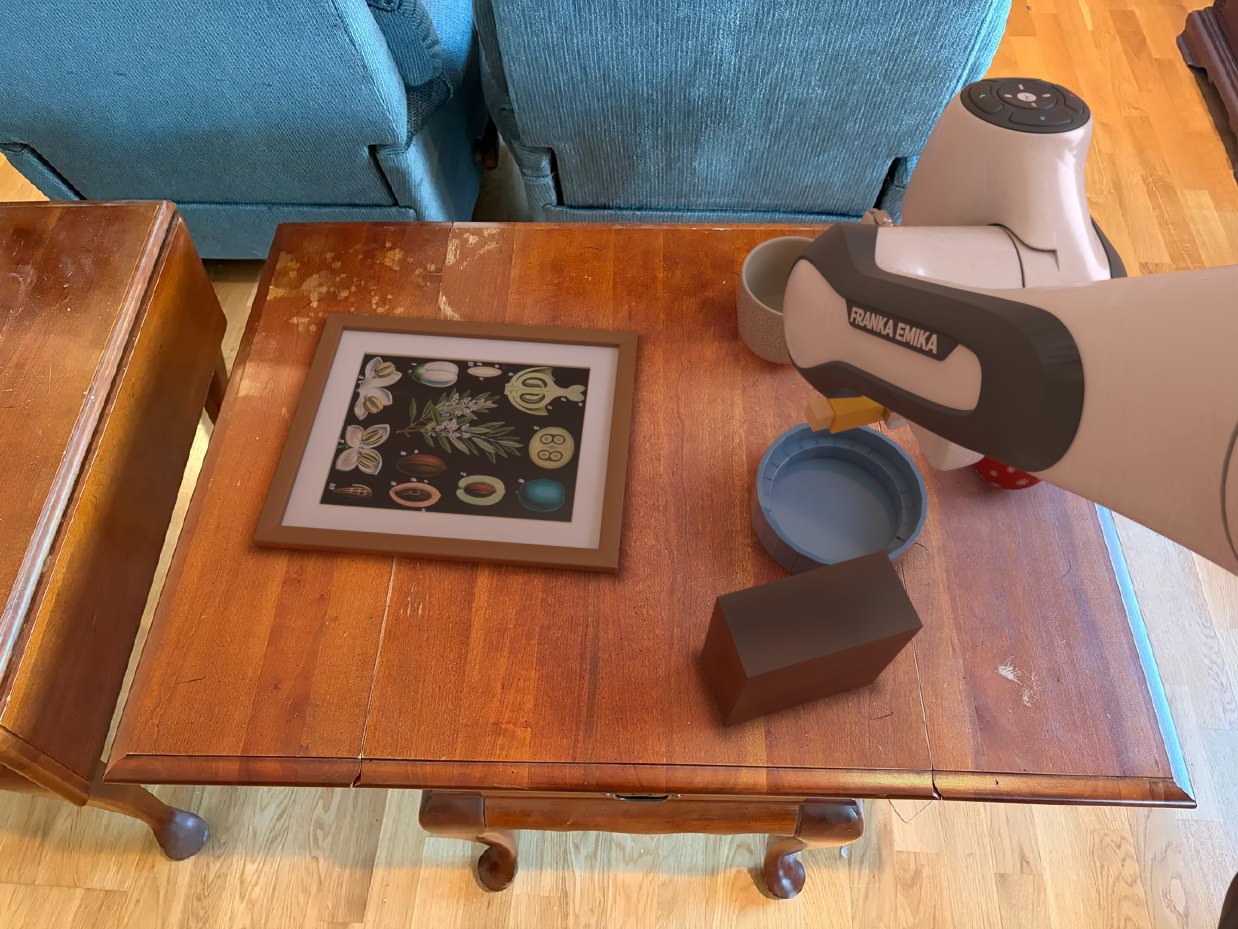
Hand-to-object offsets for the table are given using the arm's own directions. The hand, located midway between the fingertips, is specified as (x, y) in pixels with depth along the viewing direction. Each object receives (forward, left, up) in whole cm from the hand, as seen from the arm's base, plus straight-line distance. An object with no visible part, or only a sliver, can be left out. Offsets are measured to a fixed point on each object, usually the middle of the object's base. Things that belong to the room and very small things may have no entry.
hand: (882, 402), depth 72 cm
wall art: (+21, +36, -21) cm, 47 cm away
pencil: (0, 0, -1) cm, 1 cm away
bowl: (0, 0, -21) cm, 21 cm away
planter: (+24, -4, -21) cm, 32 cm away
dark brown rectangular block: (-15, +11, -21) cm, 28 cm away
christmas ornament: (0, -20, -21) cm, 29 cm away
